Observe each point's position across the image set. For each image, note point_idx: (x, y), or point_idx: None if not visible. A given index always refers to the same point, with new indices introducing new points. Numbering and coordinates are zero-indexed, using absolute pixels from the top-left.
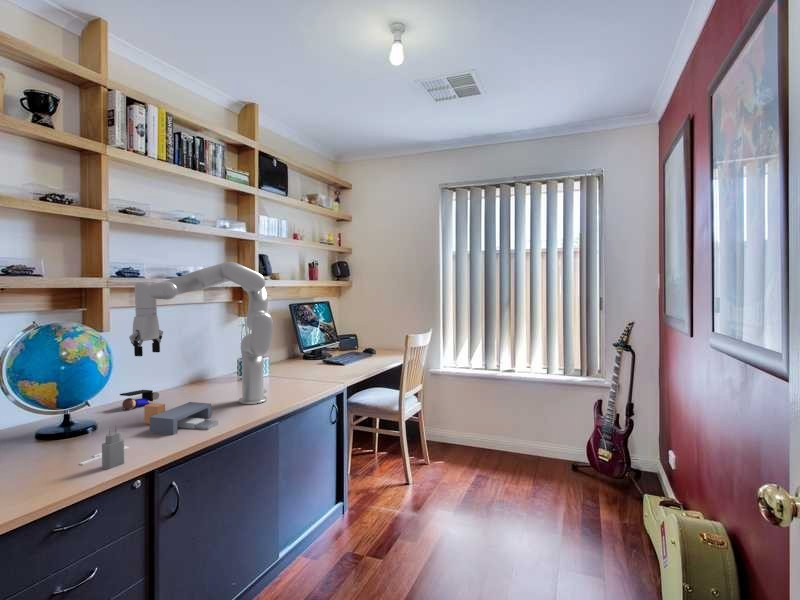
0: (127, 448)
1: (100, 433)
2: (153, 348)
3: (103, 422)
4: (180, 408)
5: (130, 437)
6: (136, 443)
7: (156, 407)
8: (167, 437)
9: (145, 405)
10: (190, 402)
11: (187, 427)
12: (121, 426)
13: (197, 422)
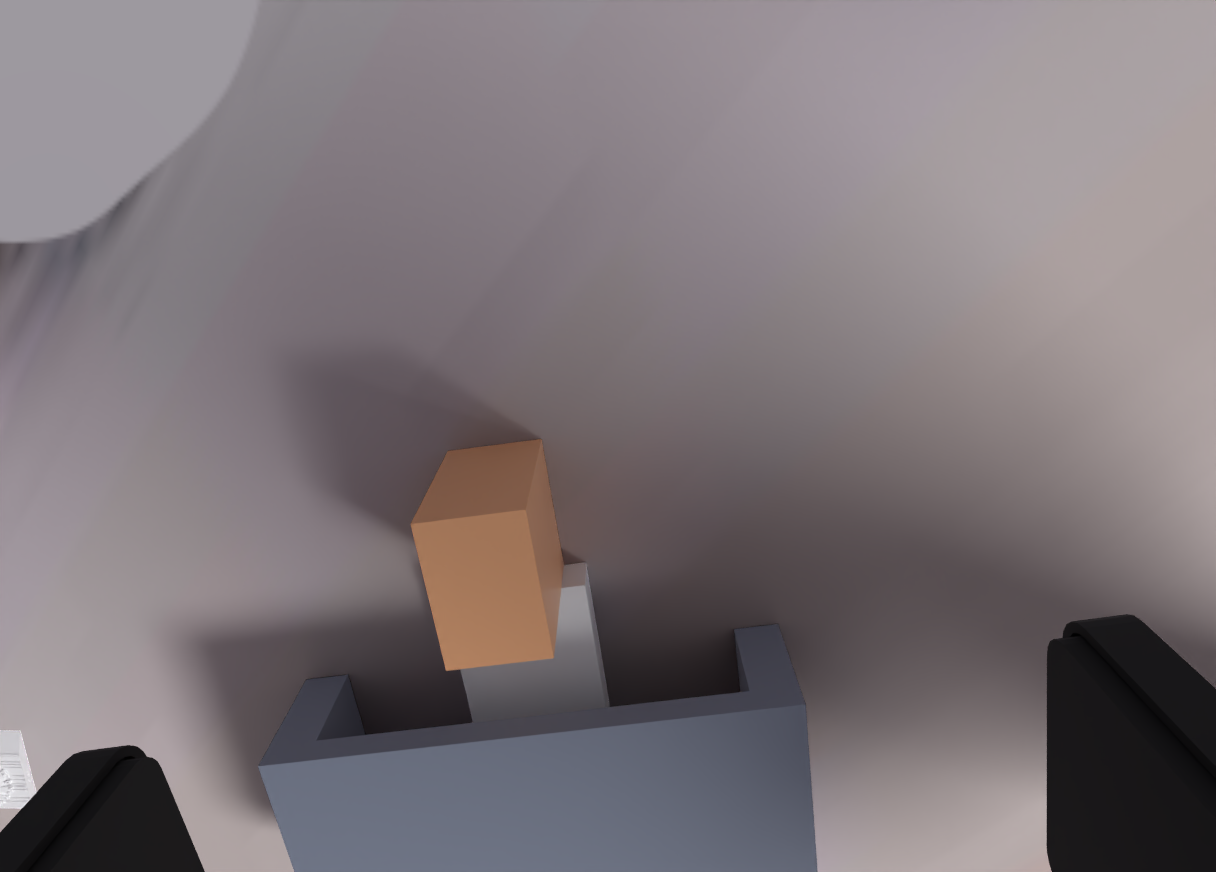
0: (24, 805)
1: (78, 352)
2: (1143, 790)
3: (275, 40)
4: (578, 791)
5: (162, 646)
6: None
7: (444, 655)
8: None
9: (419, 530)
10: (789, 723)
11: None
12: (288, 342)
13: None
